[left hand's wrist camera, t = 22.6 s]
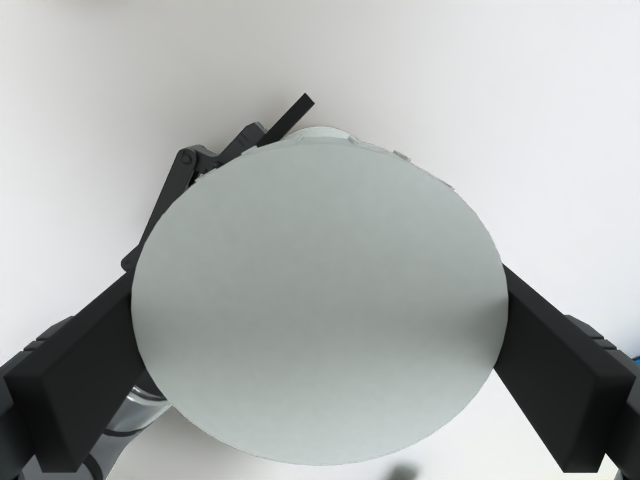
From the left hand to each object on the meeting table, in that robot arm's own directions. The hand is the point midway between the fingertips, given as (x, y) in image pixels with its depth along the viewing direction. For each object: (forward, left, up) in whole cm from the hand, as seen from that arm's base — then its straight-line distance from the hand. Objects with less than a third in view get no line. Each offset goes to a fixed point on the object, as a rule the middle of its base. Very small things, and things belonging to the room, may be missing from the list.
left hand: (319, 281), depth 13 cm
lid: (0, 0, +3) cm, 3 cm away
